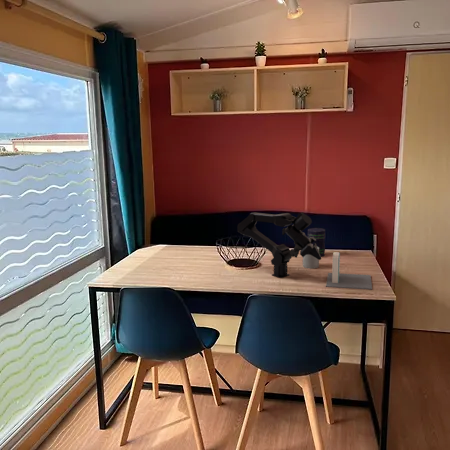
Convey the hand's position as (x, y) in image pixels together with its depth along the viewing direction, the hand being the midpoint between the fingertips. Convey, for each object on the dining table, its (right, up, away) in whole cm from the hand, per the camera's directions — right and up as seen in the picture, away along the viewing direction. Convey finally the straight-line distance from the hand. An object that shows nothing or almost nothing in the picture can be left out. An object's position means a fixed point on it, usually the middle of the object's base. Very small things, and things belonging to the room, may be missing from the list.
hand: (320, 259), depth 216 cm
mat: (+13, -10, -1) cm, 17 cm away
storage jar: (+7, -1, +45) cm, 46 cm away
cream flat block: (+7, -10, 0) cm, 12 cm away
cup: (0, -6, +25) cm, 25 cm away
